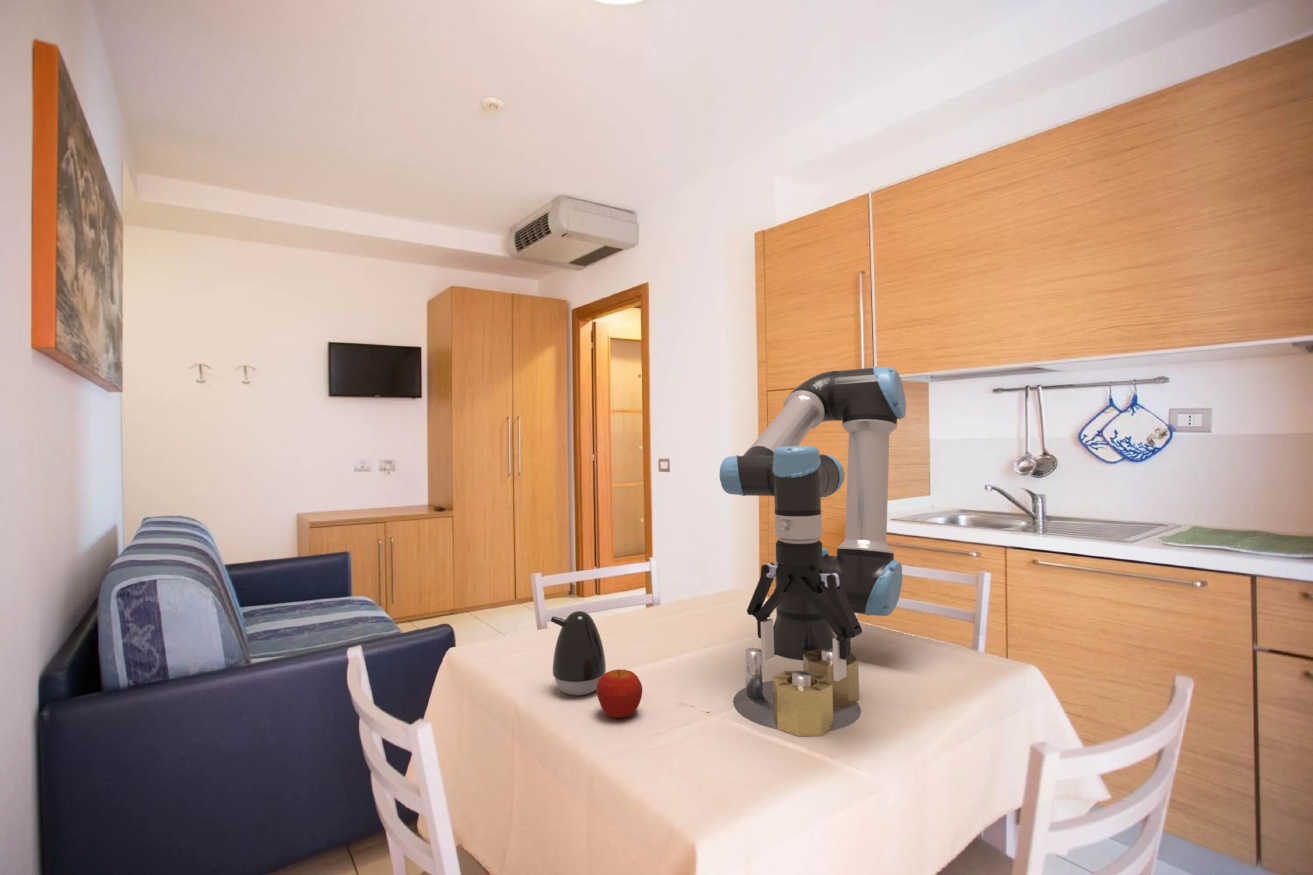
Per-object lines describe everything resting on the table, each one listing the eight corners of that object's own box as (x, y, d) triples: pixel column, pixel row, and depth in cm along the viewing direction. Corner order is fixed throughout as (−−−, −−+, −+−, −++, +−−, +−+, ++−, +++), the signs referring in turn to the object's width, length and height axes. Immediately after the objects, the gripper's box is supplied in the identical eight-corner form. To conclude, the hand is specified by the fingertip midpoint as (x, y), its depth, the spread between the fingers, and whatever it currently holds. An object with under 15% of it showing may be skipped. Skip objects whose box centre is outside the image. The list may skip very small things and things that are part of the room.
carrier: (707, 709, 109) (707, 659, 110) (778, 675, 125) (777, 632, 125) (818, 751, 94) (817, 692, 94) (883, 706, 109) (882, 656, 110)
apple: (637, 726, 103) (636, 679, 104) (591, 723, 105) (591, 676, 105) (645, 707, 111) (645, 663, 111) (603, 704, 112) (603, 661, 113)
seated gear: (796, 695, 113) (795, 657, 113) (821, 682, 119) (820, 645, 119) (841, 710, 106) (840, 669, 107) (865, 694, 113) (865, 656, 113)
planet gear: (764, 723, 102) (763, 681, 102) (794, 707, 108) (793, 666, 108) (812, 741, 95) (811, 695, 95) (841, 722, 102) (840, 679, 102)
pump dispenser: (554, 681, 124) (552, 605, 124) (606, 679, 125) (604, 603, 125) (549, 702, 114) (548, 619, 114) (606, 699, 115) (604, 617, 115)
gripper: (724, 535, 108) (728, 656, 108) (858, 551, 91) (863, 695, 91) (750, 529, 113) (754, 645, 114) (881, 543, 96) (885, 680, 96)
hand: (802, 667), depth 102 cm, fingers open, 13 cm apart
